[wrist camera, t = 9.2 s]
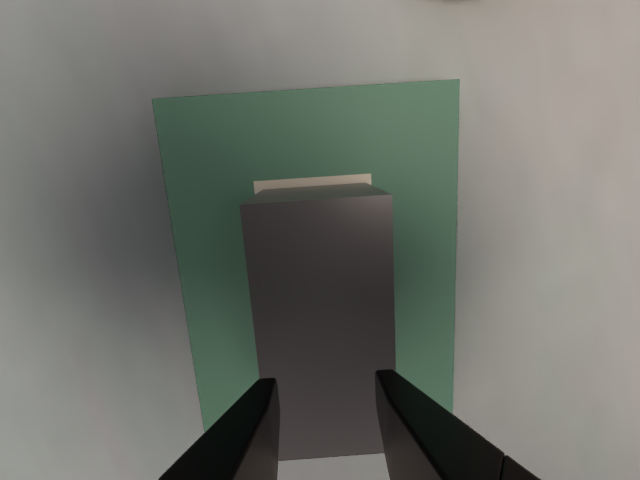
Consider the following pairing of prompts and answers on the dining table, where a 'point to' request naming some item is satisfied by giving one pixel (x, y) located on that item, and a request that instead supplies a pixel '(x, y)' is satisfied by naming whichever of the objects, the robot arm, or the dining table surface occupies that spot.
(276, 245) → the plug block
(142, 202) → the dining table surface
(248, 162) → the board
